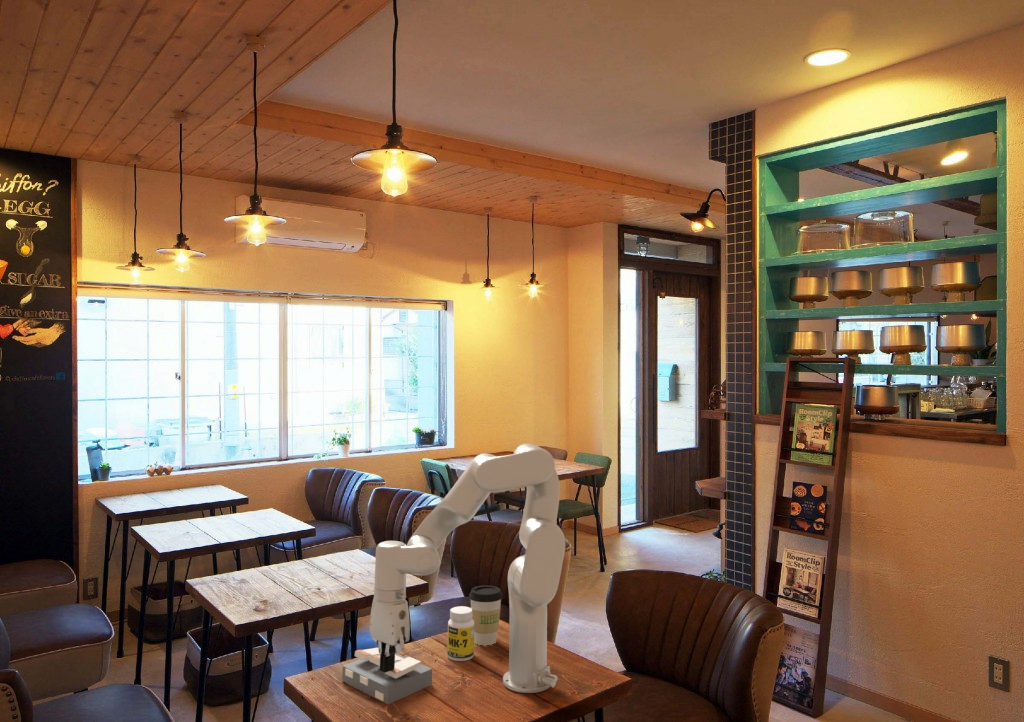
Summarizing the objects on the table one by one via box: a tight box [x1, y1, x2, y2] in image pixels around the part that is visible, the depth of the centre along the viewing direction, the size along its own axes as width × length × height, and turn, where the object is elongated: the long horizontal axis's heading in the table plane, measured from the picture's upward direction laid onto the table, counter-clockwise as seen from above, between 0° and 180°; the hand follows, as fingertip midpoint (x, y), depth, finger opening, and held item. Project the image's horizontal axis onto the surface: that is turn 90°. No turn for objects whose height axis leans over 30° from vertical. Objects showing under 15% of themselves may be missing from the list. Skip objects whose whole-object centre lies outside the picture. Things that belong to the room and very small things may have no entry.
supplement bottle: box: [446, 605, 475, 662], centre depth 195 cm, size 7×7×13 cm
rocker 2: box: [370, 655, 404, 666], centre depth 179 cm, size 4×8×1 cm, turn 139°
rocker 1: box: [354, 647, 380, 661], centre depth 183 cm, size 4×8×1 cm, turn 139°
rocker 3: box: [385, 656, 422, 678], centre depth 175 cm, size 4×8×1 cm, turn 139°
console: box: [341, 653, 433, 705], centre depth 179 cm, size 18×14×5 cm
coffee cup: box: [468, 584, 504, 647], centre depth 206 cm, size 10×10×15 cm
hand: (387, 669), depth 172 cm, fingers closed
